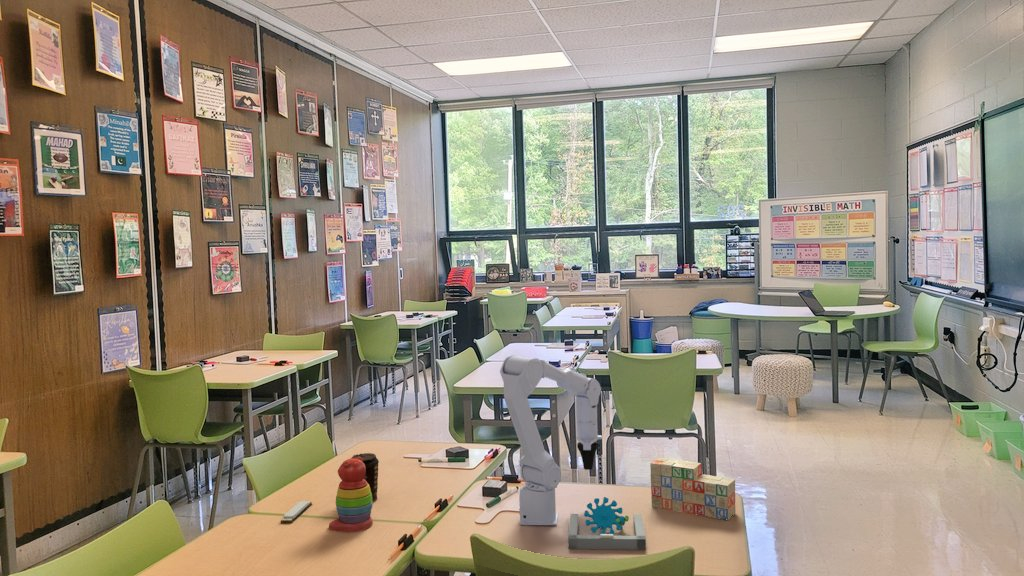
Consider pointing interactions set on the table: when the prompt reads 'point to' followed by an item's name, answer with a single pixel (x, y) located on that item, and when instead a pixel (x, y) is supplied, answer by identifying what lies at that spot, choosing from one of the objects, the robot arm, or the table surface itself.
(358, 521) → the stacking bear
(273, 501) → the table surface
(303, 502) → the harmonica
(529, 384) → the robot arm
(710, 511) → the stack of blocks
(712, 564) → the table surface
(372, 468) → the coffee cup
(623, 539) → the gear frame
